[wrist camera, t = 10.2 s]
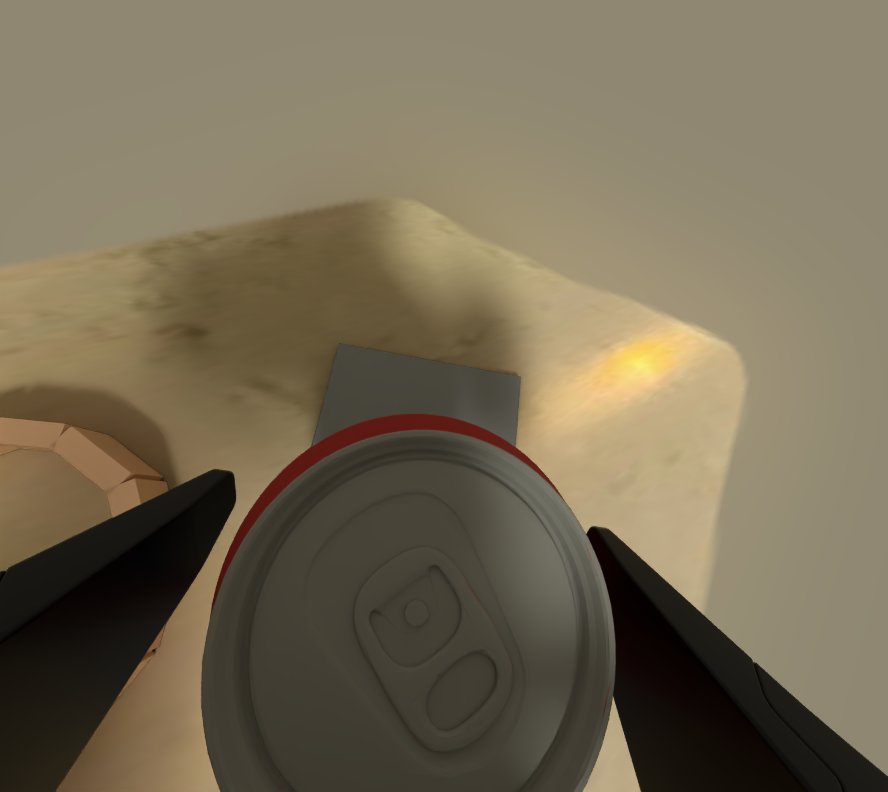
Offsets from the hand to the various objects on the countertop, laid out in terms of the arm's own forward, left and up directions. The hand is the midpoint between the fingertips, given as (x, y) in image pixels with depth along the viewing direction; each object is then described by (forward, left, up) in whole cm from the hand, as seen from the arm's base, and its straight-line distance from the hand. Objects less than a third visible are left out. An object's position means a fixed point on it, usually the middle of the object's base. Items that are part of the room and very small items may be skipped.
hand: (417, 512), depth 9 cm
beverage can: (-1, +1, -8) cm, 8 cm away
